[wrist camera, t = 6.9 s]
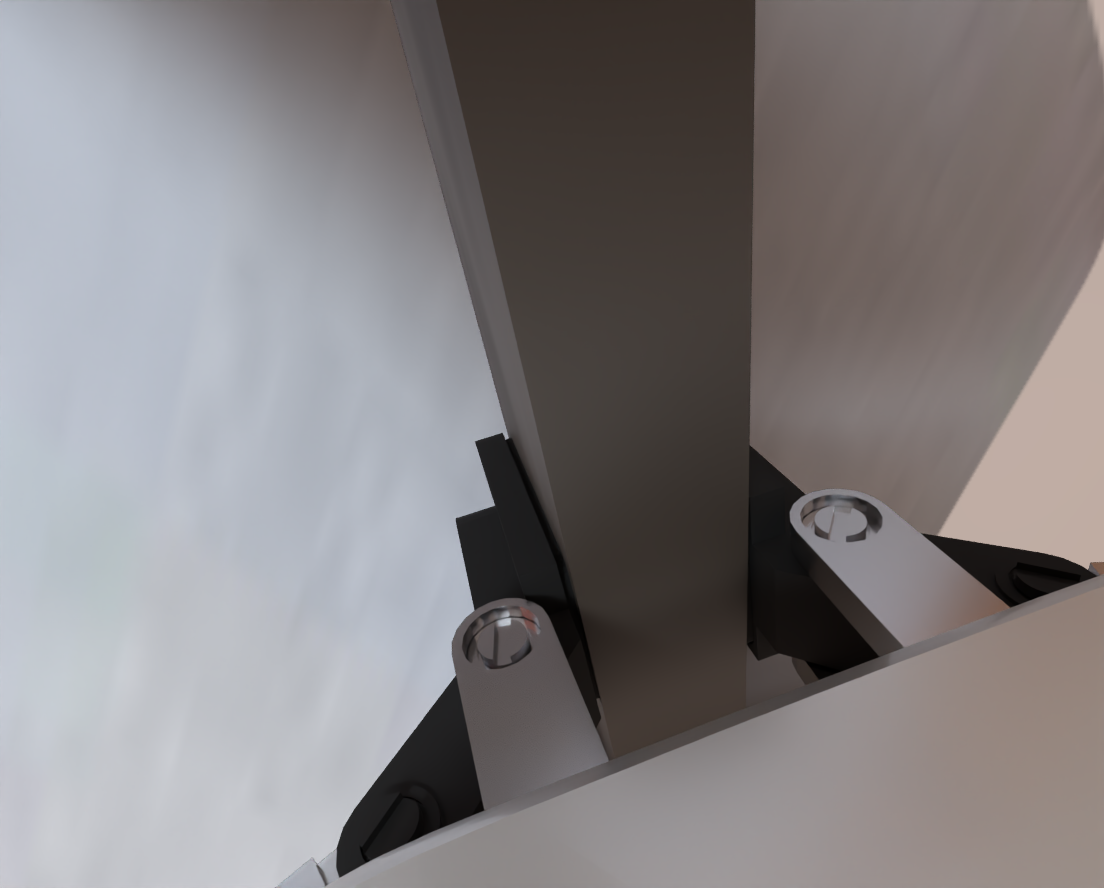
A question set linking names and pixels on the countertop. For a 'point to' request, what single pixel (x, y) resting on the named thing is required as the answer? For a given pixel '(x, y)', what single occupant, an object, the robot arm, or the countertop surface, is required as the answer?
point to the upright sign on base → (616, 315)
